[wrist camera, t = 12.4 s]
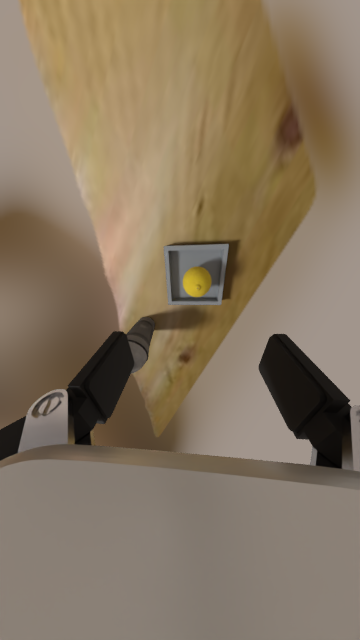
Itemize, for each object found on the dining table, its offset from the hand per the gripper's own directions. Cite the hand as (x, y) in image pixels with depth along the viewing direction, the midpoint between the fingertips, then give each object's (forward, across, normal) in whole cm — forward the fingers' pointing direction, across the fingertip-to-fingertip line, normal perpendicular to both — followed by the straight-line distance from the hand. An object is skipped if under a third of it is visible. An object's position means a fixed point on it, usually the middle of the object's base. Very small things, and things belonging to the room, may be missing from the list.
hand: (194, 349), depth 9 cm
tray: (+24, 0, +1) cm, 24 cm away
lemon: (+24, -1, +1) cm, 24 cm away
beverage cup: (+24, +13, +14) cm, 31 cm away
